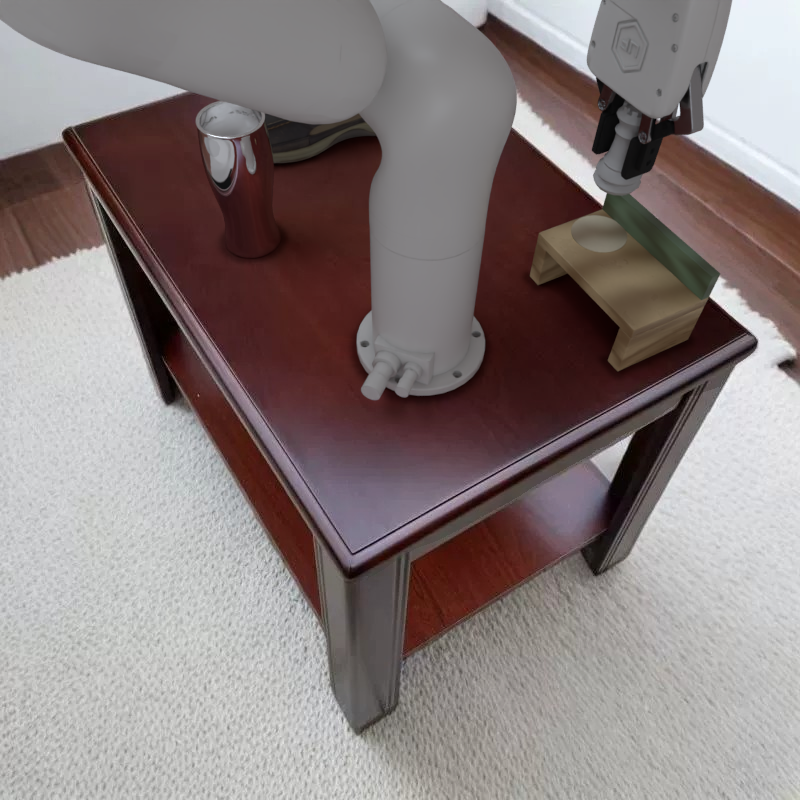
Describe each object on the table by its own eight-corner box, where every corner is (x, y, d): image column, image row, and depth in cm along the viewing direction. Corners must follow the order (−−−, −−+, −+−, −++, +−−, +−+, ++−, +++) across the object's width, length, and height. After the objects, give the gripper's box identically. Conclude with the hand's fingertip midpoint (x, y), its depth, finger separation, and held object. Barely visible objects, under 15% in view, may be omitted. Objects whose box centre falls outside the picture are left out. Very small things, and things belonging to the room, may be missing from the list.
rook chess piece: (604, 162, 71) (625, 85, 64) (647, 179, 69) (673, 101, 63) (583, 186, 69) (603, 107, 62) (627, 204, 67) (652, 125, 61)
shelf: (688, 339, 73) (720, 273, 66) (617, 372, 71) (643, 306, 64) (596, 250, 81) (616, 182, 74) (529, 276, 79) (543, 208, 71)
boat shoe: (203, 134, 93) (185, 52, 85) (410, 85, 101) (412, 5, 93) (228, 182, 88) (211, 99, 79) (446, 126, 95) (452, 45, 87)
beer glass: (297, 239, 82) (282, 116, 70) (249, 270, 78) (225, 148, 66) (256, 211, 84) (234, 89, 72) (208, 240, 81) (177, 118, 69)
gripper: (574, -91, 56) (535, 126, 70) (728, 1, 47) (647, 226, 62) (651, -108, 58) (597, 106, 73) (812, -23, 49) (714, 200, 64)
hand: (621, 159), depth 67 cm, fingers closed on rook chess piece, 3 cm apart
